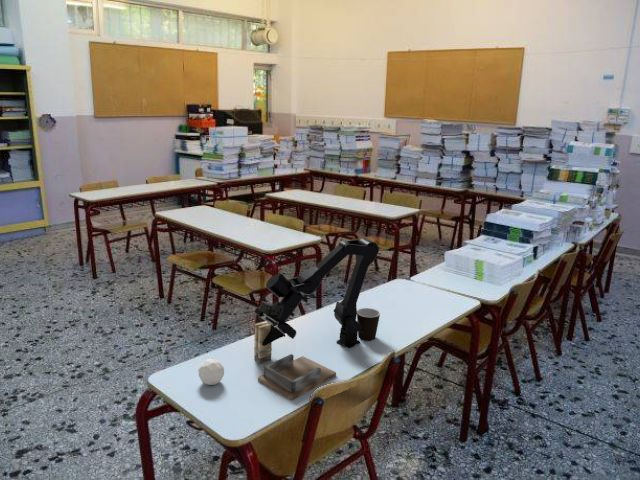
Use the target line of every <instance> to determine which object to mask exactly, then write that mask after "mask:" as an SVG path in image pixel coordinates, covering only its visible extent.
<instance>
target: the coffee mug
mask: <svg viewBox="0 0 640 480" xmlns="http://www.w3.org/2000/svg"><path fill="white" fill-rule="evenodd" d="M380 315H381V312H380V311H379V310H377V309H375V308H371V307H370V308H369V307H364V308H359V309H357V316H356V321H357V322H358V323H359V324H360V325H361V326H362V327H361V330H360V331H358V335H357V338H358V337H359V338H360V339H359V338H358V339H359V340H361V341H363V340H364V341H363V342H372V341H371V340H373V341H374V340H376V335H377V332H378V328H379V327H378V326H379V321H380Z"/></svg>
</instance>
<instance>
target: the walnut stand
mask: <svg viewBox="0 0 640 480" xmlns="http://www.w3.org/2000/svg"><path fill="white" fill-rule="evenodd" d="M294 356H295V355H294V354H292V353H290V354H289V355H287V356H284V357H282V358H280V359H278V360H275V361H273V362H271V363H269V364H267V365H265V366H263V374H262V375H260V376H258V377H257V381H258V382H260V383H261V384H263V385H265V386H266V387H268V388H270V389H272V390H273V391H275V392H277V393H279V394H281V395H282V396H284V397H286V398H287V399H289V400H291V401H293V400H296V399H297V398H299V397H300V396H301V395H303V394H305V393H307V392H309V391H310V390H313V389H314V388H316V387H318V386H320V385H322V384H323V383H325V382H327V381H329V380H332V379H333V378H334V377H336V376H337V372H336V371H335V370H332V369H331V368H328V367H326V366H324V365H322V364H320V363H318V362H316V361H314V360H311V359H309V358H307V357H306V356H304V355H303V356H299V357H298V358H295V359H294Z"/></svg>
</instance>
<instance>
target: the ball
mask: <svg viewBox="0 0 640 480" xmlns="http://www.w3.org/2000/svg"><path fill="white" fill-rule="evenodd" d="M224 368H225V367H224V366H223V364H222V363H221V361H220V360H217V359H215V358H208V359H206V360H205V361H202V362H201V364H200V366H199V368H198V370H197V371H198V377H199V379H200V381H201V383H203V384H205V385H207V386H215V385H217V384H218V383H220V382H221V381H222V379H223V378H224V375H225V369H224Z"/></svg>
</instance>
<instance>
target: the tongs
mask: <svg viewBox="0 0 640 480" xmlns="http://www.w3.org/2000/svg"><path fill="white" fill-rule="evenodd" d="M272 324H273V323H271V324H268V322H267V321H264V322H261V323H260V322H257V323H254V347H253V351H254V360H255V361H256V362H257V363H258V364H264V363H267V362H270V361H272V351H273V347H272V343H273V342H271V343H269V344H267V345H266V346H263V345H262V343H263V341H264V340H265V338H266V337H267V335H268V334H269V332H270V330H271V325H272Z"/></svg>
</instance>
